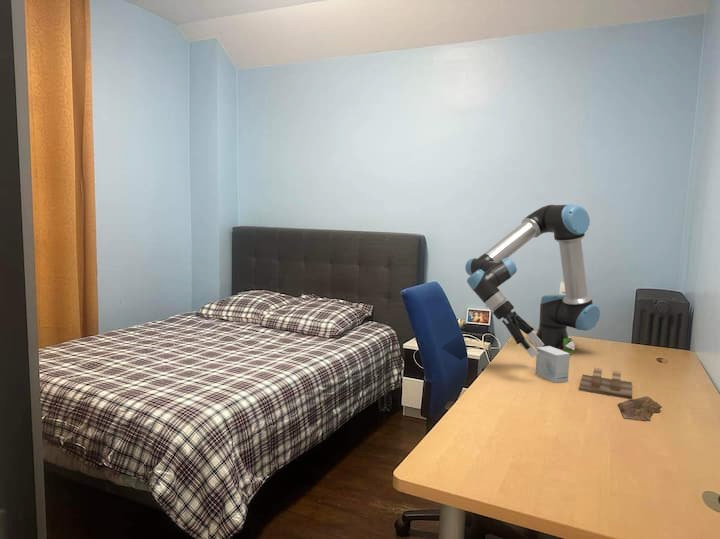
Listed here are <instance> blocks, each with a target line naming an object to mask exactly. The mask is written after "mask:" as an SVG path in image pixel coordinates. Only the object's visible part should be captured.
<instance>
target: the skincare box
mask: <svg viewBox="0 0 720 539" xmlns="http://www.w3.org/2000/svg"><path fill="white" fill-rule="evenodd" d="M536 351H537V352H538V354H537V355H536V359H535V374H534V375H537V376H539V377H541V378H543V379H545V380H547V381H550V382H552V383H554V384H556V383H564V382H569V371H570V370H569V369H570V359H571V358H570V357H571V354H570V353H567V352H564V350H563V349H557V348H554V347H551V346H545V347H536Z"/></svg>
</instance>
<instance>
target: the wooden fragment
mask: <svg viewBox="0 0 720 539" xmlns="http://www.w3.org/2000/svg"><path fill="white" fill-rule="evenodd" d="M617 405H618V407H619V410H620V412H621V414H622V416H623V420H631V421H636V422H637V421H641V422H651V416H653V414H657V413H660V412H662V411H661V408H663V406H662V405H660V403H658V402H657V401H655V400H653V399H652V398H651V397H650V396H648V395H647V396H643V397H638V398H634V399H633V398H632V399H627V400H625V401H623V402H618V403H617Z"/></svg>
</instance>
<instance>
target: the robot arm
mask: <svg viewBox="0 0 720 539" xmlns="http://www.w3.org/2000/svg"><path fill="white" fill-rule="evenodd" d="M590 222H591V221H590V216H589V213H588V211H587V210H586V209H585V207H582V205H575V204H548V205H545V206H542V207H539V208H538V209H536V210H535V211H533V212H531V213H530V214H528V215H527V216H526V217H524V218H523V219H522V220H521V224H520V225H518V226H517V227H516V228H514V229H513V230H512V231H510V233H508V234H507V235H505V236H504V237H503V238H501V239H500V240H499V241H498V242H497V243H496V244H494V245H493V246H492V247H491V248H489V249H488V250H486V252H484V253H483V254H481V255H480V256H479V257H478V258H476V257H474V258H469V259H468V260H467V261H466V263H465V268H464V269H465V272H466V274H467V275H468V276H469V277H468V278H467V279H466V283H467V284H468V286H469V287H470V289H471V290H472V291H474V292H473V293H475V294H476V295H477V297H478V298H479V299H480V300H481V301H482V302H483V303H484V306H485V308H488V309H489V310H490V311H491V312H492V314H493V315H494V317H495V318H496V320H498V321H499V320H501V319H503V320H502V321H501V323H503V324H504V326H505V328H506V329H507V330H508V332H509V333H510V334H511V337H512V338H513V339H514V341H515V343H516V344H517V345H519V344H520V346H521V347H522V348H523V349H524V350H525V351H526V352H527V354H528V355H529V356H530V357H531V358H535V356H536V355H537V354H538V352H537V347H545V346H551V347H554V348H557V349H559V350H564V349H563V347H562V346H563V343H562V341H563V340H562V339H563V338H569V334H568V332H567V327H569V328H571V329H575V330H578V331H583V332H584V331H585V332H587V331H591V330H592V329H594V328H595V327H596V326H597V324H598V323H599V320H600V318H601V311H600V307H599V306H598V305H596V304H593V297H592V296H591V295H590V294H588V287H587V279H586V278H587V276H586V271H585V270H586V269H585V261H584V253H583V252H584V251H583V244H582V239H583V238H584V237H585V236H586V235H585V233H586V232H587V231H588V230H589V226H590ZM546 233H551V234H552V233H553V238H554V240H555V242H558V245H559V253H560V259H561V260H560V261H561V269H562V278H563V285H564V291H565V292H564V293H565V294H545V295H543V296H541V299H540V305H539V306H540V307H539V326H538V329H537V332H536V333H535V332H534V330H535V329H534V327H532V326H530V324H529V323H528V322H526V321H525V319H523V318H522V317H521V316H520V315H518V313H517V312H516V311H512V310H513V309H514V308H515V307H514V305H513V304H512V302H510V300H507V297H506V295H504V293H503V292H502V291H501V290H500V289H499V287H500V286H501V285H502V284H504V283H505V282H507V281H509V279H511V278H512V277H513V276H514V275H515V274H516V273H517V271H518V269H517V265H516V263H515V261H513V260H512V259H511V258H509V257H511V256H512V255H513V254H514V253H516V252H517V251H518V250H520V249H521V248H522V247H523V246H525V245H526V244H527V243H528V242H529V241H531V240H532V239H533V238H539V236H541V235H543V234H546ZM523 333H525V334H526V336H527V338H525V336H524V335H523ZM528 339H529V340H530V341H531V342H532V343H530V341H529V340H528ZM563 342H564V341H563ZM561 343H562V344H561ZM532 344H533V345H534V346H535V347H536V348H535V347H534V346H533V345H532ZM560 348H561V349H560Z"/></svg>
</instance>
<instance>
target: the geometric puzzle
mask: <svg viewBox="0 0 720 539" xmlns="http://www.w3.org/2000/svg"><path fill="white" fill-rule="evenodd" d="M562 340H563V341H564V342H563V341H562V343H563V346H562V347H563V349H561V348H560V349H559V350H563V351H564V352H567V353H570V355H573V354H575V352H576V347H575V346H579V344H578V343H577V342H575V340H573V339H572V337H571V338H570V337H568V338H563V339H562ZM562 343H561V344H562Z"/></svg>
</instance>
